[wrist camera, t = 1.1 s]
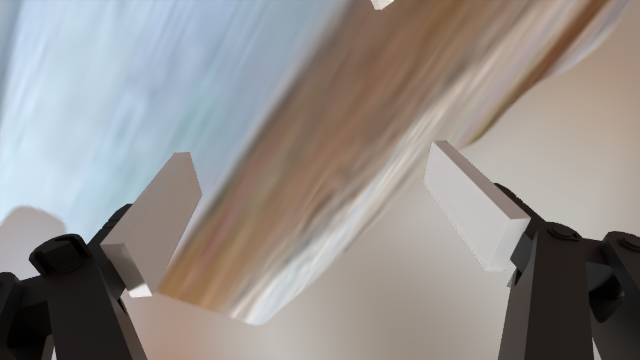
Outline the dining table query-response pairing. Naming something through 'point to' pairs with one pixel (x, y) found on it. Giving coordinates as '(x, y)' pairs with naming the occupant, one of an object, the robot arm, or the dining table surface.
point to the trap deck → (380, 3)
